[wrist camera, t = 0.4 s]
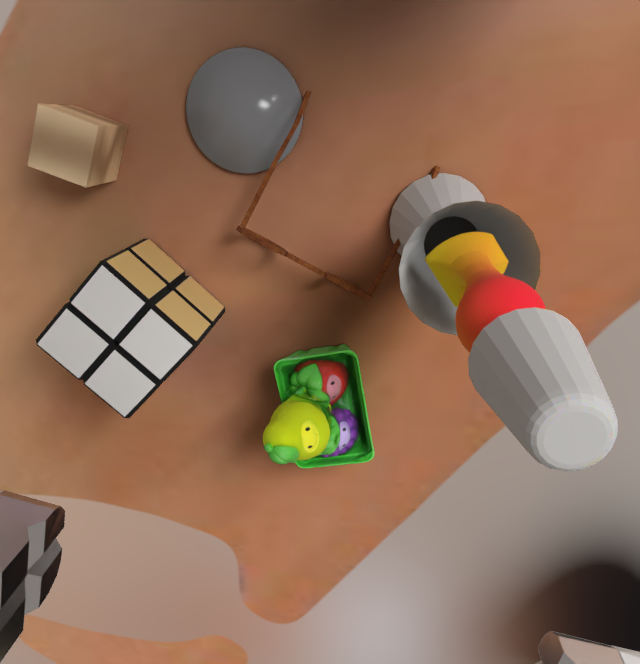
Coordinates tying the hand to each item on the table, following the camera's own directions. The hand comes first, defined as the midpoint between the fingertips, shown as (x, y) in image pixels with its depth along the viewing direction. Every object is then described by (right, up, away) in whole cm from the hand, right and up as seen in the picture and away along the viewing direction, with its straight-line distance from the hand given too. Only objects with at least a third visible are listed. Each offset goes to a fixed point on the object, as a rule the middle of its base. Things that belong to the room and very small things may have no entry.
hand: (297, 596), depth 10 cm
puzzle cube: (-15, +7, +48) cm, 51 cm away
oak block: (-20, +21, +43) cm, 52 cm away
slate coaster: (-6, +23, +41) cm, 48 cm away
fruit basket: (+1, -1, +49) cm, 49 cm away
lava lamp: (+11, +14, +43) cm, 46 cm away
